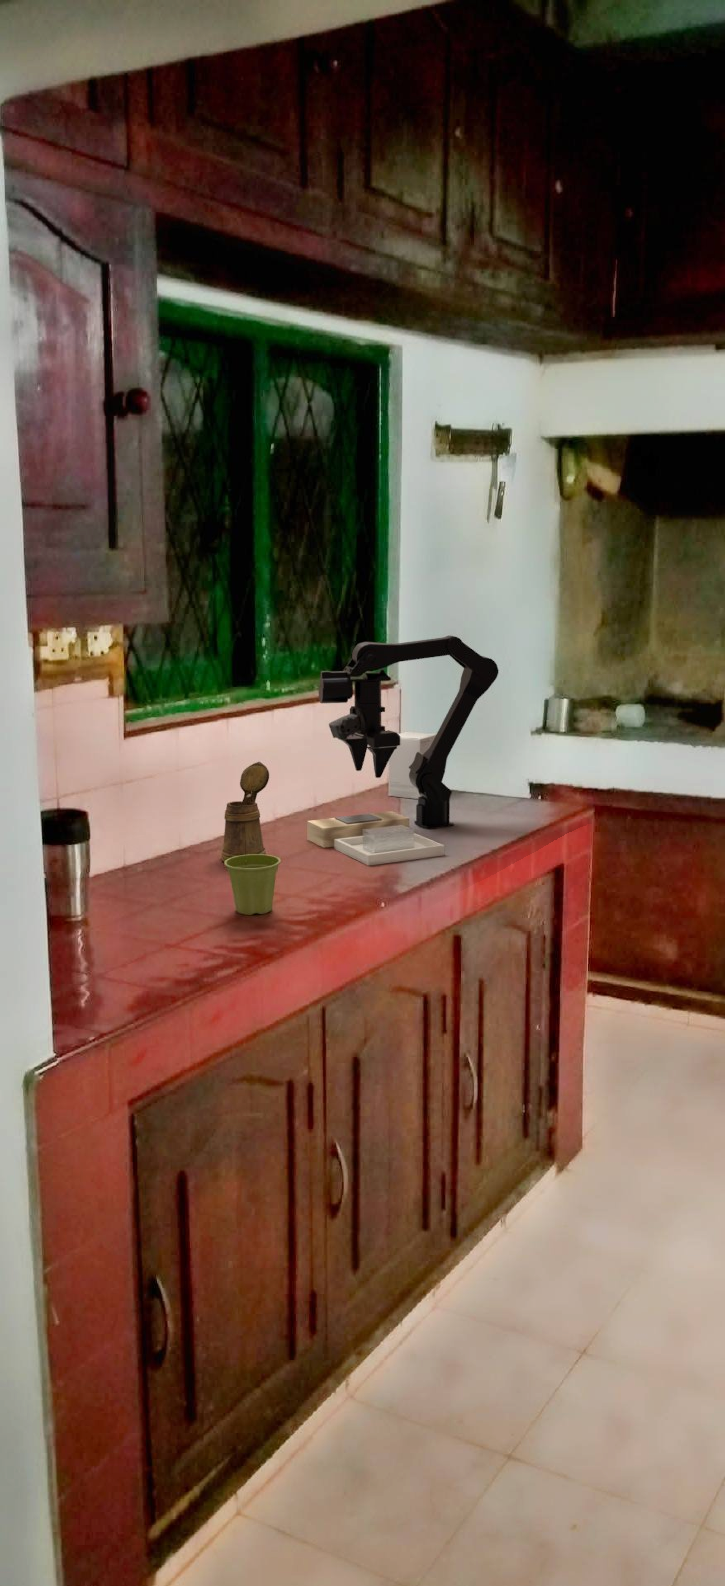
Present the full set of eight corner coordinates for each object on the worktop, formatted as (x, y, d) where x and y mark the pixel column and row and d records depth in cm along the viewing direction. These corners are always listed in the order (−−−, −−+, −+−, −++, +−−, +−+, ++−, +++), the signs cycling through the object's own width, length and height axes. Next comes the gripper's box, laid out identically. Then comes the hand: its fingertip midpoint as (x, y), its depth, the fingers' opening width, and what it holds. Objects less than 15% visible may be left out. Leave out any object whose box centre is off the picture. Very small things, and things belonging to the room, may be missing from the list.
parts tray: (407, 839, 260) (407, 830, 260) (444, 855, 247) (444, 845, 247) (334, 848, 253) (334, 839, 252) (368, 865, 239) (368, 855, 239)
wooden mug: (282, 849, 252) (280, 762, 249) (255, 866, 240) (253, 774, 236) (241, 846, 255) (239, 760, 252) (213, 862, 243) (210, 771, 239)
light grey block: (402, 843, 254) (402, 824, 253) (414, 849, 250) (414, 829, 249) (362, 849, 250) (362, 829, 249) (374, 854, 246) (374, 834, 245)
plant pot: (259, 921, 205) (258, 870, 203) (214, 913, 210) (213, 863, 208) (292, 907, 213) (291, 858, 211) (248, 899, 217) (247, 851, 216)
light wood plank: (391, 829, 270) (391, 809, 269) (409, 836, 263) (409, 816, 262) (307, 839, 261) (306, 819, 260) (323, 847, 254) (323, 827, 253)
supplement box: (420, 800, 299) (420, 738, 296) (387, 796, 304) (387, 735, 301) (437, 793, 307) (437, 733, 304) (405, 790, 312) (405, 730, 309)
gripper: (315, 699, 269) (316, 770, 273) (353, 709, 253) (354, 785, 256) (361, 696, 274) (361, 766, 277) (401, 706, 258) (401, 780, 261)
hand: (368, 774), depth 268 cm, fingers open, 9 cm apart
